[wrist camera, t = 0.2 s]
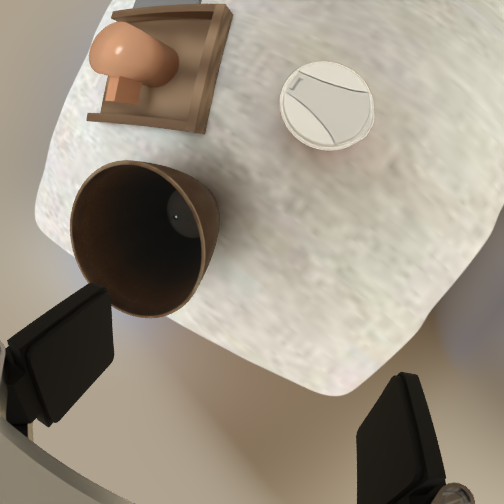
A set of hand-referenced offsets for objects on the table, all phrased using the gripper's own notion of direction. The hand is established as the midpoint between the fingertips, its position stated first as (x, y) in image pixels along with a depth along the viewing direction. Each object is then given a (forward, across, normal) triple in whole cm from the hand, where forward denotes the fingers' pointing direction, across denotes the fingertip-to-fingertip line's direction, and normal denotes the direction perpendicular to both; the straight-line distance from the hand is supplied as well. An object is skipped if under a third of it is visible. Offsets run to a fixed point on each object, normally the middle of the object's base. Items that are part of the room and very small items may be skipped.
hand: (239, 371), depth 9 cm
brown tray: (+31, +22, -15) cm, 41 cm away
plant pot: (+31, +14, +4) cm, 34 cm away
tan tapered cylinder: (+30, +22, -13) cm, 40 cm away
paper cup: (+31, -1, -11) cm, 33 cm away
